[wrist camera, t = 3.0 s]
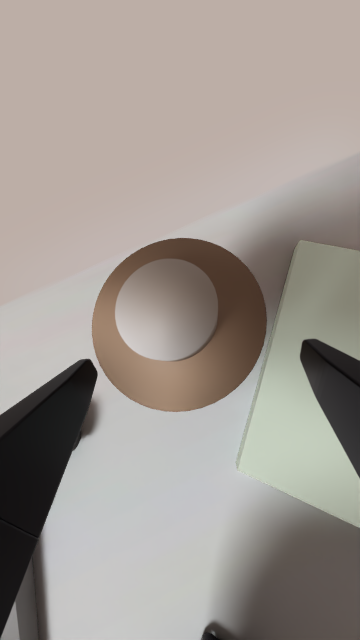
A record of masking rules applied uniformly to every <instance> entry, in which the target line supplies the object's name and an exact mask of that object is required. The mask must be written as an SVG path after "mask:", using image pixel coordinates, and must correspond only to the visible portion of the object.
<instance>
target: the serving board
mask: <svg viewBox="0 0 360 640" xmlns="http://www.w3.org/2000/svg"><path fill="white" fill-rule="evenodd" d="M305 339H318V340H320V341H322V342H324V343H326V344H328V345H330V346H332V347H334V348H336V349H338V350H340V351H342V352H344V353H346V354H348V355H350V356H352V357H354V358H356V359H358V360H359V361H360V251H359V250H354V249H348V248H343V247H337V246H332V245H326V244H321V243H315V242H310V241H304V240H300V241H299V243H298V244H297V246H296V247H295V249H294V253H293V256H292V260H291V264H290V267H289V271H288V275H287V278H286V282H285V285H284V289H283V293H282V296H281V300H280V304H279V307H278V311H277V315H276V318H275V322H274V325H273V329H272V333H271V336H270V340H269V344H268V347H267V351H266V355H265V358H264V362H263V365H262V369H261V373H260V376H259V380H258V384H257V387H256V391H255V394H254V398H253V402H252V405H251V409H250V413H249V416H248V420H247V424H246V427H245V431H244V434H243V438H242V442H241V445H240V449H239V453H238V456H237V460H236V466H237V470H238V471H240V472H242V473H244V474H246V475H248V476H250V477H252V478H254V479H256V480H259V481H261V482H263V483H265V484H267V485H269V486H271V487H273V488H276V489H278V490H280V491H282V492H284V493H286V494H288V495H290V496H292V497H295V498H297V499H299V500H301V501H303V502H305V503H307V504H309V505H312V506H314V507H316V508H318V509H320V510H322V511H324V512H326V513H328V514H331V515H333V516H335V517H337V518H339V519H341V520H343V521H345V522H348V523H350V524H352V525H354V526H356V527H358V528H360V478H359V476H358V475H357V473H356V471H355V469H354V467H353V465H352V464H351V462H350V460H349V458H348V456H347V454H346V453H345V451H344V449H343V447H342V445H341V443H340V442H339V440H338V438H337V436H336V434H335V432H334V431H333V429H332V427H331V425H330V423H329V421H328V420H327V418H326V416H325V414H324V412H323V410H322V409H321V407H320V405H319V403H318V401H317V399H316V397H315V395H314V393H313V390H312V388H311V386H310V383H309V381H308V378H307V376H306V373H305V371H304V368H303V366H302V363H301V361H300V351H301V346H302V342H303V340H305Z"/></svg>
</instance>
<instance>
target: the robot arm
mask: <svg viewBox="0 0 360 640" xmlns="http://www.w3.org/2000/svg"><path fill="white" fill-rule="evenodd" d="M300 361H301V363H302V366H303V368H304V371H305V373H306V376H307V378H308V381H309V383H310V386H311V388H312V390H313V393H314V395H315V397H316V399H317V401H318V403H319V405H320V407H321V409H322V410H323V412H324V414H325V416H326V418H327V420H328V421H329V423H330V425H331V427H332V429H333V431H334V432H335V434H336V436H337V438H338V440H339V442H340V443H341V445H342V447H343V449H344V451H345V453H346V454H347V456H348V458H349V460H350V462H351V464H352V465H353V467H354V469H355V471H356V473H357V475H358V476H359V478H360V361H359V360H358V359H356V358H354V357H352V356H350V355H348V354H346V353H344V352H342V351H340V350H338V349H336V348H334V347H332V346H330V345H328V344H326V343H324V342H322V341H320V340H318V339H305V340H303V342H302V346H301V351H300ZM97 375H98V374H97V370H96V368H95V367H94V365H93V363H92V361H91V360H90V359H81V360H79V361H77V362H76V363H75V364H73V365H72V366H70V367H69V368H67V369H66V370H65V371H63V372H62V373H60V374H59V375H57V376H56V377H54V378H53V379H52V380H50V381H49V382H47V383H46V384H44V385H43V386H42V387H40V388H39V389H37V390H36V391H34V392H33V393H31V394H30V395H29V396H27V397H26V398H24V399H23V400H21V401H20V402H18V403H17V404H16V405H14V406H13V407H11V408H10V409H8V410H7V411H6V412H4V413H3V414H1V415H0V639H1V636H2V634H3V631H4V628H5V626H6V623H7V621H8V618H9V615H10V613H11V610H12V608H13V605H14V602H15V600H16V597H17V594H18V592H19V589H20V587H21V584H22V581H23V579H24V576H25V574H26V571H27V568H28V566H29V563H30V561H31V558H32V555H33V553H34V550H35V547H36V545H37V542H38V538H39V537H40V534H41V531H42V529H43V526H44V524H45V521H46V518H47V516H48V513H49V511H50V508H51V505H52V503H53V500H54V497H55V495H56V492H57V490H58V487H59V484H60V482H61V479H62V477H63V474H64V471H65V469H66V466H67V464H68V461H69V458H70V456H71V453H72V451H73V448H74V445H75V443H76V440H77V437H78V435H79V432H80V430H81V427H82V424H83V422H84V419H85V417H86V414H87V411H88V408H89V405H90V402H91V398H92V395H93V391H94V387H95V384H96V380H97ZM201 640H219V639H218V638H216V637H215V636H213V635H212V634H210V633H205V634H204V635H203V636H202V638H201Z"/></svg>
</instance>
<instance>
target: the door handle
mask: <svg viewBox="0 0 360 640" xmlns="http://www.w3.org/2000/svg"><path fill="white" fill-rule="evenodd" d="M80 435H81V432H79V435H78V437H77V440H76V443H75V445H74V448H73V450H75V449H76V447H77V446H78V444H79V441H80ZM0 640H39V634H38V621H37V609H36V596H35V584H34V572H33V559H32V558H31V561H30V563H29V566H28V568H27V571H26V574H25V576H24V579H23V581H22V584H21V587H20V589H19V592H18V594H17V597H16V600H15V602H14V605H13V608H12V610H11V613H10V615H9V618H8V621H7V623H6V626H5V628H4V631H3V634H2V636H1V639H0Z"/></svg>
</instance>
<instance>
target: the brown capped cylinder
mask: <svg viewBox="0 0 360 640" xmlns="http://www.w3.org/2000/svg"><path fill="white" fill-rule="evenodd" d="M266 324H267V317H266V307H265V303H264V298H263V295H262V292H261V290H260V287H259V285H258V283H257V281H256V279H255V278H254V276H253V274H252V273H251V272H250V270H249V269H248V268H247V266H246V265H245V264H244V263H243V262H242V261H241V260H240V259H239V258H237V257H236V256H235V255H233V254H232V253H231V252H229V251H227V250H226V249H224V248H222V247H220V246H218V245H215V244H213V243H210V242H207V241H203V240H198V239H191V238H176V239H168V240H163V241H159V242H156V243H153V244H150V245H148V246H146V247H144V248H141V249H140V250H138V251H136V252H135V253H133V254H131V255H130V256H129V257H128V258H126V259H125V260H124V261H123V262H122V263H121V264H120V265H118V266H117V267H116V269H115V270H114V271H113V272H112V273H111V275H110V276H109V277H108V279H107V280H106V282H105V283H104V285H103V287H102V289H101V291H100V293H99V296H98V298H97V301H96V304H95V308H94V312H93V320H92V338H93V345H94V349H95V353H96V356H97V359H98V361H99V364H100V366H101V368H102V369H103V371H104V373H105V375H106V376H107V377H108V379H109V380H110V381H111V383H112V384H113V385H114V386H115V387H116V388H117V389H118V390H119V391H120V392H121V393H123V394H124V395H126V396H127V397H128V398H130V399H131V400H133V401H135V402H137V403H139V404H141V405H143V406H146V407H149V408H152V409H156V410H161V411H172V412H180V411H190V410H194V409H199V408H203V407H205V406H208V405H210V404H213V403H215V402H217V401H219V400H220V399H222V398H224V397H226V396H227V395H228V394H229V393H231V392H232V391H233V390H235V389H236V388H237V387H238V386H239V385H240V384H241V383H242V382H243V381H244V380H245V379H246V377H247V376H248V375H249V373H250V372H251V370H252V369H253V367H254V366H255V364H256V362H257V360H258V358H259V356H260V353H261V350H262V347H263V345H264V340H265V335H266Z"/></svg>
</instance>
